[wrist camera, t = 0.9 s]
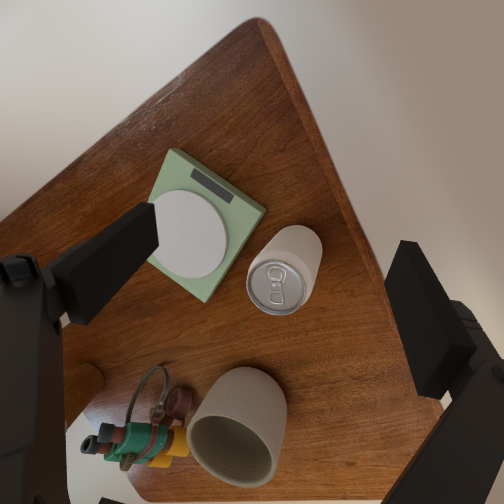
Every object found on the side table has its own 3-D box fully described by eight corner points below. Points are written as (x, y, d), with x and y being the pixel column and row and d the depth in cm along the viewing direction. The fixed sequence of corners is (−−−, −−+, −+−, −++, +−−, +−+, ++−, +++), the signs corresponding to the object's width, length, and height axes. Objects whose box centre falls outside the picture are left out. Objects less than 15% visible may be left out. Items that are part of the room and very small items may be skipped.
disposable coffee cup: (91, 398, 62) (37, 450, 52) (65, 362, 61) (4, 408, 50) (119, 389, 58) (67, 443, 48) (92, 350, 57) (32, 397, 46)
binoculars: (164, 395, 60) (153, 487, 48) (95, 380, 53) (63, 482, 42) (202, 363, 54) (200, 460, 42) (129, 341, 47) (103, 448, 36)
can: (323, 224, 36) (311, 257, 25) (322, 273, 38) (310, 323, 27) (271, 223, 38) (239, 253, 27) (273, 270, 40) (244, 315, 29)
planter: (205, 375, 50) (169, 430, 40) (257, 344, 44) (230, 399, 35) (252, 428, 51) (227, 496, 41) (309, 404, 45) (297, 476, 35)
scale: (179, 148, 38) (165, 148, 35) (267, 209, 37) (260, 214, 34) (139, 242, 45) (124, 248, 42) (212, 295, 44) (202, 306, 41)
